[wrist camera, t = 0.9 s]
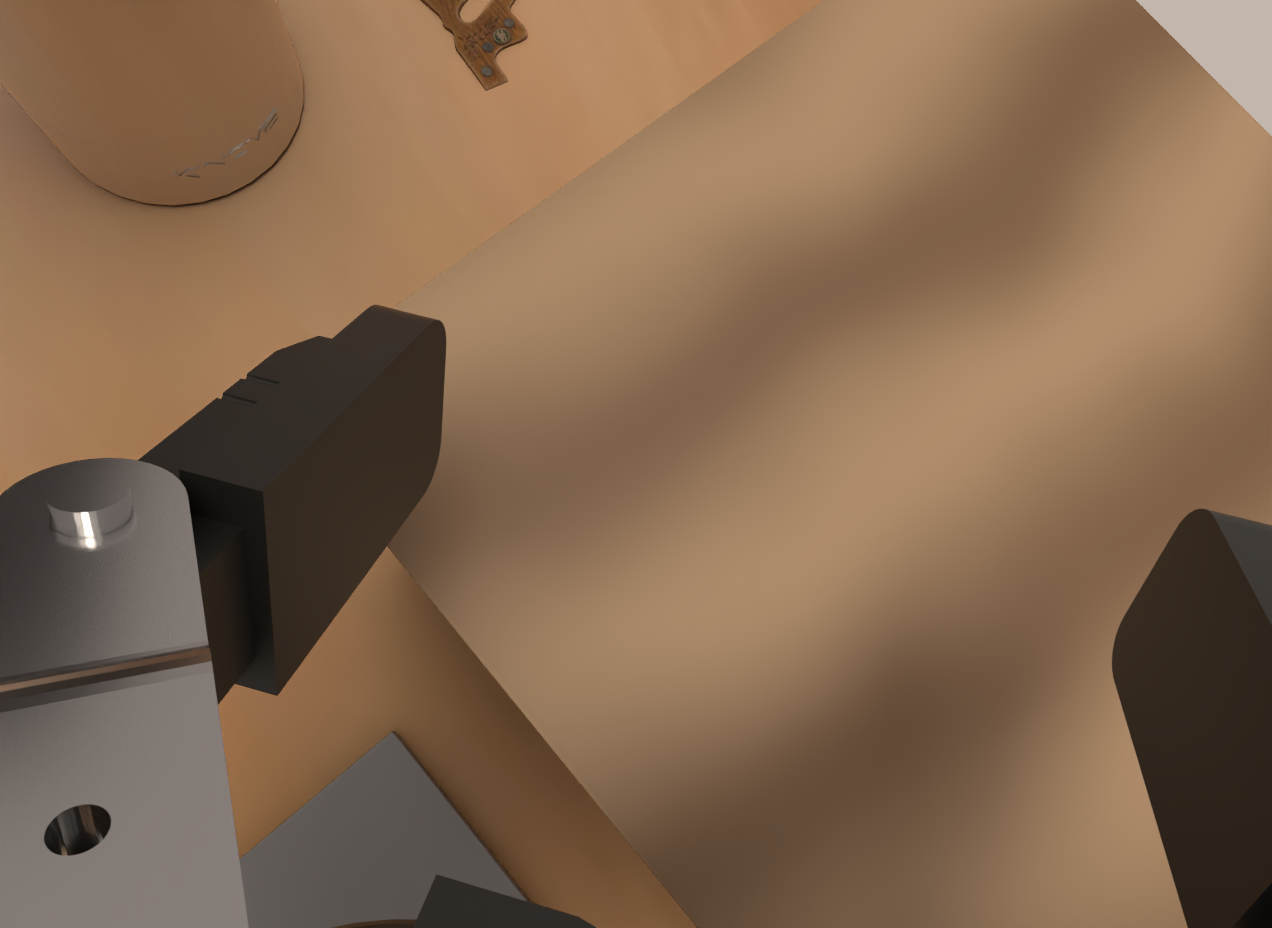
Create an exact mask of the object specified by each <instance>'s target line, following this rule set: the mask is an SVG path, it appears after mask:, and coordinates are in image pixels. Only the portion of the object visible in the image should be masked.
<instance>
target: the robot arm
mask: <svg viewBox="0 0 1272 928" xmlns="http://www.w3.org/2000/svg"><path fill="white" fill-rule="evenodd" d="M0 83H1V84H2V85H3V87H4V88H5V89H6V90H7V91H8V92H9V94H10V95H11V96H12V97H13V98H14V100H15V101H16V102H17V103H18V104H19V105H20V106H21V108H22V109H23V110H24V111H25V112H26V113H27V114H28V115H29V117H30V118H31V119H32V120H33V121H34V122H35V123H36V124H37V126H38V127H39V128H40V129H41V130H42V131H43V132H44V133H45V135H46V136H47V137H48V138H49V139H50V140H51V141H52V142H53V144H54V145H55V146H56V147H57V148H58V149H59V150H60V152H61V153H62V154H63V155H64V156H65V157H66V158H67V159H68V161H69V162H70V163H71V164H72V165H73V166H74V167H75V168H76V169H77V170H78V171H79V172H81V173H82V174H83V175H84V176H86V177H87V178H88V179H89V180H91V181H92V182H93V183H94V184H96V185H98V186H100V187H102V188H104V189H106V190H108V191H110V192H112V193H114V194H116V195H118V196H121V197H124V198H128V199H132V200H136V201H139V202H143V203H149V204H163V205H181V204H190V203H199V202H204V201H207V200H210V199H214V198H217V197H220V196H224V195H227V194H229V193H231V192H233V191H235V190H237V189H239V188H241V187H243V186H245V185H247V184H248V183H250V182H252V181H253V180H255V179H256V178H257V177H258V176H260V175H261V174H262V173H263V172H265V171H266V170H267V169H268V168H270V167H271V166H272V165H273V164H274V162H275V161H276V160H277V159H278V158H279V156H280V155H281V154H282V153H283V151H284V150H285V149H286V148H287V147H288V145H289V143H290V141H291V139H292V137H293V135H294V133H295V131H296V129H297V127H298V124H299V120H300V116H301V112H302V107H303V103H304V93H303V77H302V73H301V69H300V65H299V62H298V58H297V55H296V53H295V50H294V47H293V45H292V42H291V39H290V37H289V34H288V31H287V29H286V26H285V23H284V21H283V18H282V15H281V13H280V10H279V7H278V5H277V2H276V0H0ZM445 363H446V331H445V327H444V324H443V323H442V322H441V321H440V320H437V319H433V318H429V317H425V316H420V315H416V314H412V313H408V312H404V311H400V310H396V309H392V308H388V307H384V306H379V305H373V306H371V307H369V308H368V309H367V310H365V311H364V312H363V313H362V314H361V315H360V316H358V317H357V318H356V319H355V320H354V321H352V322H351V323H350V324H349V325H348V326H347V327H345V328H344V329H343V330H342V331H341V332H340V333H338V334H337V335H336V336H335V337H334V338H332V339H330V338H326V337H322V336H317V337H314V338H311V339H308V340H306V341H303V342H300V343H297V344H294V345H292V346H289V347H286V348H283V349H280V350H278V351H276V352H274V353H273V354H272V355H270V356H269V357H268V358H267V359H265V360H264V361H263V362H262V363H260V364H259V365H258V366H257V367H255V368H254V369H253V370H251V371H250V372H249V373H248V374H247V378H246V380H245V379H240V380H239V381H238V382H236V383H235V384H234V385H233V386H231V387H230V388H229V389H227V390H226V391H225V392H224V393H223V396H222V399H218V398H216V399H215V400H214V401H212V402H211V403H210V404H208V405H207V406H206V407H205V408H203V409H202V410H201V411H200V412H198V413H197V414H196V415H195V416H193V417H192V418H191V419H190V420H188V421H187V422H186V423H184V424H183V425H182V426H181V427H179V428H178V429H177V430H176V431H174V432H173V433H172V434H171V435H169V436H168V437H167V438H165V439H164V440H163V441H162V442H160V443H159V444H158V445H157V446H155V447H154V448H153V449H152V450H150V451H149V452H148V453H147V454H145V455H144V456H143V457H141V458H140V459H139V460H130V459H119V458H101V459H88V460H81V461H74V462H69V463H65V464H61V465H57V466H54V467H51V468H47V469H44V470H42V471H39V472H37V473H35V474H32V475H30V476H28V477H26V478H24V479H22V480H21V481H19V482H17V483H15V484H14V485H13V486H11V487H10V488H9V489H7V490H6V491H5V492H3V493H2V494H1V496H0V928H249V926H248V919H247V912H246V904H245V897H244V890H243V883H242V875H241V868H240V861H239V854H238V847H237V839H236V832H235V825H234V818H233V811H232V803H231V796H230V789H229V782H228V775H227V767H226V760H225V753H224V746H223V739H222V731H221V724H220V717H219V710H218V704H219V703H220V701H221V700H222V699H223V698H224V696H225V695H226V694H227V693H228V691H229V690H230V689H231V688H232V686H233V685H234V684H238V685H241V686H245V687H248V688H252V689H255V690H259V691H262V692H266V693H269V694H273V695H276V696H278V694H279V693H280V692H281V690H282V689H283V687H284V686H285V685H286V683H287V682H288V681H289V679H290V678H291V676H292V675H293V674H294V672H295V671H296V670H297V668H298V667H299V666H300V664H301V663H302V661H303V660H304V659H305V657H306V656H307V655H308V653H309V652H310V650H311V649H312V648H313V646H314V645H315V644H316V642H317V641H318V640H319V638H320V637H321V635H322V634H323V633H324V631H325V630H326V629H327V627H328V626H329V624H330V623H331V622H332V620H333V619H334V618H335V616H336V615H337V613H338V612H339V611H340V609H341V608H342V607H343V605H344V604H345V603H346V601H347V600H348V598H349V597H350V596H351V594H352V593H353V592H354V590H355V589H356V587H357V586H358V585H359V583H360V582H361V581H362V579H363V578H364V577H365V575H366V574H367V572H368V571H369V570H370V568H371V567H372V566H373V564H374V563H375V561H376V560H377V559H378V557H379V556H380V555H381V553H382V552H383V550H384V549H385V548H386V546H387V545H388V544H389V542H390V541H391V540H392V538H393V537H394V535H395V534H396V533H397V531H398V530H399V529H400V527H401V526H402V524H403V523H404V522H405V520H406V519H407V518H408V516H409V515H410V514H411V512H412V511H413V509H414V508H415V507H416V505H417V504H418V503H419V501H420V500H421V498H422V497H423V496H424V494H425V493H426V491H427V489H428V487H429V485H430V483H431V480H432V478H433V475H434V472H435V469H436V466H437V462H438V458H439V453H440V447H441V436H442V418H443V399H444V381H445ZM1112 673H1113V678H1114V682H1115V685H1116V689H1117V692H1118V695H1119V699H1120V702H1121V706H1122V709H1123V712H1124V716H1125V719H1126V722H1127V726H1128V729H1129V732H1130V736H1131V739H1132V742H1133V746H1134V749H1135V752H1136V756H1137V759H1138V763H1139V766H1140V769H1141V773H1142V776H1143V779H1144V783H1145V786H1146V789H1147V793H1148V796H1149V799H1150V803H1151V806H1152V810H1153V813H1154V816H1155V820H1156V823H1157V826H1158V830H1159V833H1160V836H1161V840H1162V843H1163V846H1164V850H1165V853H1166V857H1167V860H1168V863H1169V867H1170V870H1171V873H1172V877H1173V880H1174V883H1175V887H1176V890H1177V893H1178V897H1179V900H1180V904H1181V907H1182V910H1183V914H1184V917H1185V920H1186V924H1187V927H1188V928H1272V525H1268V524H1264V523H1260V522H1256V521H1252V520H1248V519H1244V518H1240V517H1236V516H1232V515H1228V514H1223V513H1219V512H1215V511H1211V510H1207V509H1196V510H1194V511H1192V512H1190V513H1189V514H1188V515H1187V516H1185V517H1184V519H1183V520H1182V521H1181V522H1180V523H1179V525H1178V526H1177V528H1176V530H1175V531H1174V533H1173V535H1172V536H1171V538H1170V540H1169V541H1168V543H1167V545H1166V546H1165V548H1164V550H1163V551H1162V553H1161V555H1160V556H1159V558H1158V560H1157V561H1156V563H1155V565H1154V567H1153V568H1152V570H1151V572H1150V573H1149V575H1148V577H1147V578H1146V580H1145V582H1144V583H1143V585H1142V587H1141V588H1140V590H1139V592H1138V593H1137V595H1136V597H1135V598H1134V600H1133V602H1132V604H1131V605H1130V607H1129V609H1128V610H1127V612H1126V614H1125V615H1124V617H1123V619H1122V621H1121V623H1120V625H1119V628H1118V631H1117V634H1116V637H1115V641H1114V646H1113V652H1112ZM332 928H596V927H594V926H593V925H591V924H589V923H588V922H586V921H584V920H583V919H581V918H579V917H577V916H574V915H570V914H567V913H564V912H560V911H557V910H554V909H550V908H547V907H544V906H540V905H537V904H534V903H530V902H527V901H524V900H520V899H517V898H514V897H510V896H507V895H504V894H500V893H497V892H494V891H490V890H487V889H484V888H480V887H477V886H474V885H470V884H467V883H464V882H460V881H457V880H454V879H450V878H447V877H444V876H440V875H437V874H436V876H435V879H434V881H433V883H432V885H431V888H430V890H429V892H428V894H427V897H426V899H425V901H424V904H423V906H422V908H421V910H420V913H419V915H418V917H417V919H389V920H378V921H367V922H357V923H351V924H347V925H342V926H337V927H332Z"/></svg>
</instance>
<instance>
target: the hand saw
mask: <svg viewBox="0 0 1272 928" xmlns="http://www.w3.org/2000/svg"><path fill="white" fill-rule="evenodd" d="M421 1H422V2H423V3H424V4H425V5H426V6H428V7H429V8H430V9H431V10H432V11H433V12H434V13H435V14H437V15H438V16H439V17H440V19H441V20H442V22H443V26H444V28H445V29H446V30H448V31H449V32H451V33H452V34H453V35H454V38H455V47H456V50H457V52H458V53H459V55H460V56H461V57H462V59H463V60H464V61H465V63H466V64H467V66H468V67H469V68H470V70H471V71H472V72H473V74H474V75H475V76H476V78H477V79H478V81H479V82H480V83H481V85H482V86H483V88H484V89H485V90H486V91H487V90H490V89H492V88H494V87H497V86H499V85H501V84H504V83H506V82H508V80H507V78H506V76H505V75H504V73H503V72H502V70H501V69H500V68H499V66H498V65H497V63H496V61H495V58H496V56H497V54H498V53H499V52H500V51H501V50H503V49H505V48H508V47H510V46H513V45H515V44H518V43H520V42H522V41H524V40H525V39H526V38H527V31H526V29H525V27H524V26H523V25H522V24H521V23H520V22H519V21H518V20H517V18H516V17H515V16H514V15H513V14H512V13H511V11H510V8H511V6H512V5H513V3H514V2H515V0H491V2H490V3H489V4H488V5H487V6H486V7H485V9H484V10H483V12H482V13H481V14H480V16H479V17H478V18H477V19H476V20H475V21H473V22H469V23H466V22H463V21H462V20H461V18H460V11H461V9H462V7H463V6H464V4H465V3H466V2H467V1H468V0H421Z"/></svg>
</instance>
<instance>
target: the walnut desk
mask: <svg viewBox="0 0 1272 928" xmlns="http://www.w3.org/2000/svg"><path fill="white" fill-rule="evenodd" d="M392 309H396V310H400V311H404V312H408V313H412V314H416V315H420V316H425V317H429V318H433V319H437V320H440V321H441V322H442V323H443V324H444V327H445V331H446V363H445V381H444V399H443V418H442V436H441V447H440V453H439V458H438V462H437V466H436V469H435V472H434V475H433V478H432V480H431V483H430V485H429V487H428V489H427V491H426V493H425V494H424V496H423V497H422V498H421V500H420V501H419V503H418V504H417V505H416V507H415V508H414V509H413V511H412V512H411V514H410V515H409V516H408V518H407V519H406V520H405V522H404V523H403V524H402V526H401V527H400V529H399V530H398V531H397V533H396V534H395V535H394V537H393V538H392V540H391V541H390V542H389V544H388V545H387V546H388V548H389V549H390V550H391V551H392V553H393V554H394V555H395V556H396V558H397V559H398V560H399V561H400V562H401V564H402V565H403V566H404V567H405V569H406V570H407V571H408V572H409V574H410V575H411V576H412V577H413V578H414V580H415V581H416V582H417V583H418V585H419V586H420V587H421V588H422V590H423V591H424V592H425V593H426V594H427V596H428V597H429V598H430V599H431V601H432V602H433V603H434V604H435V606H436V607H437V608H438V609H439V610H440V612H441V613H442V614H443V615H444V617H445V618H446V619H447V620H448V622H449V623H450V624H451V625H452V626H453V628H454V629H455V630H456V631H457V633H458V634H459V635H460V636H461V638H462V639H463V640H464V641H465V642H466V644H467V645H468V646H469V647H470V649H471V650H472V651H473V652H474V654H475V655H476V656H477V657H478V658H479V660H480V661H481V662H482V663H483V665H484V666H485V667H486V668H487V670H488V671H489V672H490V673H491V674H492V676H493V677H494V678H495V679H496V681H497V682H498V683H499V684H500V686H501V687H502V688H503V689H504V690H505V692H506V693H507V694H508V695H509V697H510V698H511V699H512V700H513V702H514V703H515V704H516V705H517V706H518V708H519V709H520V710H521V711H522V713H523V714H524V715H525V716H526V718H527V719H528V720H529V721H530V722H531V724H532V725H533V726H534V727H535V729H536V730H537V731H538V732H539V734H540V735H541V736H542V737H543V738H544V740H545V741H546V742H547V743H548V745H549V746H550V747H551V748H552V750H553V751H554V752H555V753H556V754H557V756H558V757H559V758H560V759H561V761H562V762H563V763H564V764H565V766H566V767H567V768H568V769H569V770H570V772H571V773H572V774H573V775H574V777H575V778H576V779H577V780H578V782H579V783H580V784H581V785H582V786H583V788H584V789H585V790H586V791H587V793H588V794H589V795H590V796H591V798H592V799H593V800H594V801H595V802H596V804H597V805H598V806H599V807H600V809H601V810H602V811H603V812H604V814H605V815H606V816H607V817H608V818H609V820H610V821H611V822H612V823H613V825H614V826H615V827H616V828H617V830H618V831H619V832H620V833H621V834H622V836H623V837H624V838H625V839H626V841H627V842H628V843H629V844H630V846H631V847H632V848H633V849H634V850H635V852H636V853H637V854H638V855H639V857H640V858H641V859H642V860H643V862H644V863H645V864H646V865H647V866H648V868H649V869H650V870H651V871H652V873H653V874H654V875H655V876H656V878H657V879H658V880H659V881H660V882H661V884H662V885H663V886H664V887H665V889H666V890H667V891H668V892H669V894H670V895H671V896H672V897H673V898H674V900H675V901H676V902H677V903H678V905H679V906H680V907H681V908H682V910H683V911H684V912H685V913H686V914H687V916H688V917H689V918H690V919H691V921H692V922H693V923H694V924H695V926H696V927H697V928H1188V927H1187V924H1186V920H1185V917H1184V914H1183V910H1182V907H1181V904H1180V900H1179V897H1178V893H1177V890H1176V887H1175V883H1174V880H1173V877H1172V873H1171V870H1170V867H1169V863H1168V860H1167V857H1166V853H1165V850H1164V846H1163V843H1162V840H1161V836H1160V833H1159V830H1158V826H1157V823H1156V820H1155V816H1154V813H1153V810H1152V806H1151V803H1150V799H1149V796H1148V793H1147V789H1146V786H1145V783H1144V779H1143V776H1142V773H1141V769H1140V766H1139V763H1138V759H1137V756H1136V752H1135V749H1134V746H1133V742H1132V739H1131V736H1130V732H1129V729H1128V726H1127V722H1126V719H1125V716H1124V712H1123V709H1122V706H1121V702H1120V699H1119V695H1118V692H1117V689H1116V685H1115V682H1114V678H1113V673H1112V652H1113V646H1114V641H1115V637H1116V634H1117V631H1118V628H1119V625H1120V623H1121V621H1122V619H1123V617H1124V615H1125V614H1126V612H1127V610H1128V609H1129V607H1130V605H1131V604H1132V602H1133V600H1134V598H1135V597H1136V595H1137V593H1138V592H1139V590H1140V588H1141V587H1142V585H1143V583H1144V582H1145V580H1146V578H1147V577H1148V575H1149V573H1150V572H1151V570H1152V568H1153V567H1154V565H1155V563H1156V561H1157V560H1158V558H1159V556H1160V555H1161V553H1162V551H1163V550H1164V548H1165V546H1166V545H1167V543H1168V541H1169V540H1170V538H1171V536H1172V535H1173V533H1174V531H1175V530H1176V528H1177V526H1178V525H1179V523H1180V522H1181V521H1182V520H1183V519H1184V517H1185V516H1187V515H1188V514H1189V513H1190V512H1192V511H1194V510H1196V509H1207V510H1211V511H1215V512H1219V513H1223V514H1228V515H1232V516H1236V517H1240V518H1244V519H1248V520H1252V521H1256V522H1260V523H1264V524H1268V525H1272V136H1271V135H1270V134H1269V133H1268V132H1267V131H1266V130H1265V129H1264V128H1263V127H1262V126H1261V125H1260V124H1259V123H1258V122H1257V121H1256V120H1255V119H1254V118H1253V117H1252V116H1251V115H1250V114H1249V113H1248V112H1247V111H1246V110H1245V109H1244V108H1243V107H1242V106H1241V105H1240V104H1239V103H1238V102H1237V101H1236V100H1235V99H1234V98H1233V97H1232V96H1231V95H1230V94H1229V93H1228V92H1227V91H1226V90H1225V89H1224V88H1223V87H1222V86H1221V85H1220V84H1219V83H1218V82H1217V81H1216V80H1215V79H1214V78H1213V77H1212V76H1211V75H1210V74H1209V73H1208V72H1207V71H1206V70H1205V69H1204V68H1203V67H1202V66H1201V65H1200V64H1199V63H1198V62H1197V61H1196V60H1195V59H1194V58H1193V57H1192V56H1191V55H1190V54H1189V53H1188V52H1187V51H1186V50H1185V49H1184V48H1183V47H1182V46H1181V45H1180V44H1179V43H1178V42H1177V41H1176V40H1175V39H1174V38H1173V37H1172V36H1171V35H1170V34H1169V33H1168V32H1167V31H1166V30H1165V29H1164V28H1163V27H1162V26H1161V25H1160V24H1159V23H1158V22H1157V21H1156V20H1155V19H1154V18H1153V17H1152V16H1151V15H1150V14H1149V13H1148V12H1147V11H1146V10H1145V9H1144V8H1143V7H1142V6H1141V5H1140V4H1139V3H1138V2H1137V1H1136V0H824V1H822V2H821V3H819V4H818V5H817V6H815V7H814V8H812V9H811V10H810V11H808V12H807V13H805V14H804V15H803V16H801V17H800V18H798V19H797V20H796V21H794V22H793V23H791V24H790V25H789V26H787V27H786V28H784V29H783V30H782V31H780V32H779V33H777V34H776V35H775V36H773V37H772V38H770V39H769V40H768V41H766V42H765V43H763V44H762V45H761V46H759V47H758V48H756V49H755V50H754V51H752V52H751V53H749V54H748V55H747V56H745V57H744V58H742V59H741V60H740V61H738V62H737V63H735V64H734V65H733V66H731V67H730V68H728V69H727V70H726V71H724V72H723V73H721V74H720V75H719V76H717V77H716V78H714V79H713V80H712V81H710V82H709V83H707V84H706V85H705V86H703V87H702V88H700V89H699V90H698V91H696V92H695V93H693V94H692V95H691V96H689V97H688V98H686V99H685V100H684V101H682V102H681V103H679V104H678V105H677V106H675V107H674V108H672V109H671V110H670V111H668V112H667V113H665V114H664V115H663V116H661V117H660V118H658V119H657V120H656V121H654V122H653V123H651V124H650V125H649V126H647V127H646V128H644V129H643V130H641V131H640V132H639V133H637V134H636V135H634V136H633V137H632V138H630V139H629V140H627V141H626V142H625V143H623V144H622V145H620V146H619V147H618V148H616V149H615V150H613V151H612V152H611V153H609V154H608V155H606V156H605V157H604V158H602V159H601V160H599V161H598V162H597V163H595V164H594V165H592V166H591V167H590V168H588V169H587V170H585V171H584V172H583V173H581V174H580V175H578V176H577V177H576V178H574V179H573V180H571V181H570V182H569V183H567V184H566V185H564V186H563V187H562V188H560V189H559V190H557V191H556V192H555V193H553V194H552V195H550V196H549V197H548V198H546V199H545V200H543V201H542V202H541V203H539V204H538V205H536V206H535V207H534V208H532V209H531V210H529V211H528V212H527V213H525V214H524V215H522V216H521V217H520V218H518V219H517V220H515V221H514V222H513V223H511V224H510V225H508V226H507V227H506V228H504V229H503V230H501V231H500V232H499V233H497V234H496V235H494V236H493V237H492V238H490V239H489V240H487V241H486V242H485V243H483V244H482V245H480V246H479V247H478V248H476V249H475V250H473V251H472V252H471V253H469V254H468V255H466V256H465V257H464V258H462V259H461V260H459V261H458V262H457V263H455V264H454V265H452V266H451V267H450V268H448V269H447V270H445V271H444V272H443V273H441V274H440V275H438V276H437V277H436V278H434V279H433V280H431V281H430V282H429V283H427V284H426V285H424V286H423V287H422V288H420V289H419V290H417V291H416V292H415V293H413V294H412V295H410V296H409V297H408V298H406V299H405V300H403V301H402V302H401V303H399V304H398V305H396V306H395V307H394V308H392Z"/></svg>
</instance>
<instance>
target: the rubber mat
mask: <svg viewBox="0 0 1272 928" xmlns="http://www.w3.org/2000/svg"><path fill="white" fill-rule="evenodd" d="M239 861H240V868H241V875H242V883H243V890H244V897H245V904H246V912H247V919H248V926H249V928H332V927H337V926H342V925H347V924H351V923H357V922H367V921H378V920H389V919H417V917H418V915H419V913H420V910H421V908H422V906H423V904H424V901H425V899H426V897H427V894H428V892H429V890H430V888H431V885H432V883H433V881H434V879H435V876H436V874H437V875H440V876H444V877H447V878H450V879H454V880H457V881H460V882H464V883H467V884H470V885H474V886H477V887H480V888H484V889H487V890H490V891H494V892H497V893H500V894H504V895H507V896H510V897H514V898H517V899H520V900H524V901H527V902H530V901H529V900H528V898H527V897H526V896H525V894H524V893H523V892H522V891H521V889H520V888H519V887H518V886H517V884H516V883H515V882H514V881H513V879H512V878H511V877H510V876H509V874H508V873H507V872H506V870H505V869H504V868H503V867H502V865H501V864H500V863H499V862H498V860H497V859H496V858H495V857H494V855H493V854H492V853H491V852H490V850H489V849H488V848H487V847H486V845H485V844H484V843H483V841H482V840H481V839H480V838H479V836H478V835H477V834H476V833H475V831H474V830H473V829H472V828H471V826H470V825H469V824H468V823H467V821H466V820H465V819H464V818H463V816H462V815H461V814H460V812H459V811H458V810H457V809H456V807H455V806H454V805H453V804H452V802H451V801H450V800H449V799H448V797H447V796H446V795H445V794H444V792H443V791H442V790H441V788H440V787H439V786H438V785H437V783H436V782H435V781H434V780H433V778H432V777H431V776H430V775H429V773H428V772H427V771H426V770H425V768H424V767H423V766H422V765H421V763H420V762H419V761H418V759H417V758H416V757H415V756H414V754H413V753H412V752H411V751H410V749H409V748H408V747H407V746H406V744H405V743H404V742H403V741H402V739H401V738H400V737H399V735H398V734H397V733H396V732H395V731H392V732H391V733H390V734H388V735H387V736H386V737H385V738H384V739H383V740H381V741H380V742H379V743H378V744H377V745H375V746H374V747H373V748H372V749H371V750H369V751H368V752H367V753H366V754H365V755H363V756H362V757H361V758H360V759H359V760H357V761H356V762H355V763H354V764H353V765H351V766H350V767H349V768H348V769H347V770H345V771H344V772H343V773H342V774H341V775H339V776H338V777H337V778H336V779H335V780H334V781H332V782H331V783H330V784H329V785H328V786H326V787H325V788H324V789H323V790H322V791H320V792H319V793H318V794H317V795H316V796H314V797H313V798H312V799H311V800H310V801H308V802H307V803H306V804H305V805H304V806H302V807H301V808H300V809H299V810H298V811H296V812H295V813H294V814H293V815H292V816H291V817H289V818H288V819H287V820H286V821H285V822H283V823H282V824H281V825H280V826H279V827H277V828H276V829H275V830H274V831H273V832H271V833H270V834H269V835H268V836H267V837H265V838H264V839H263V840H262V841H261V842H259V843H258V844H257V845H256V846H255V847H253V848H252V849H251V850H250V851H249V852H247V853H246V854H245V855H244V856H243V857H242V858H240V859H239ZM530 903H531V902H530Z"/></svg>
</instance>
